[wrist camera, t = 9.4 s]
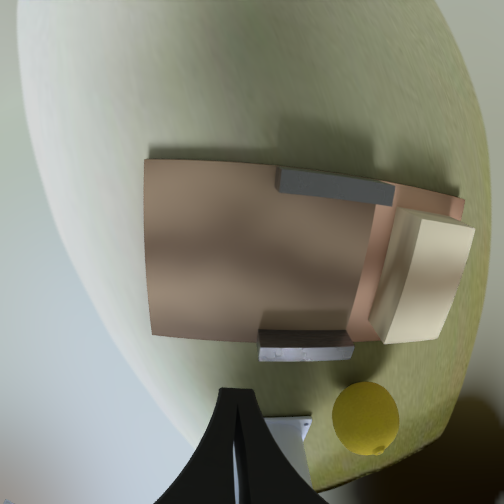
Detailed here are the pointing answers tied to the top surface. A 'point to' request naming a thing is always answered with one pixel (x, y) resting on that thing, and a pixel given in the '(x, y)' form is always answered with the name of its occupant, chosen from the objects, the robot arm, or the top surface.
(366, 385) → the lemon
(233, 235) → the board
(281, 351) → the channel
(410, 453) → the top surface
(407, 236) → the block
